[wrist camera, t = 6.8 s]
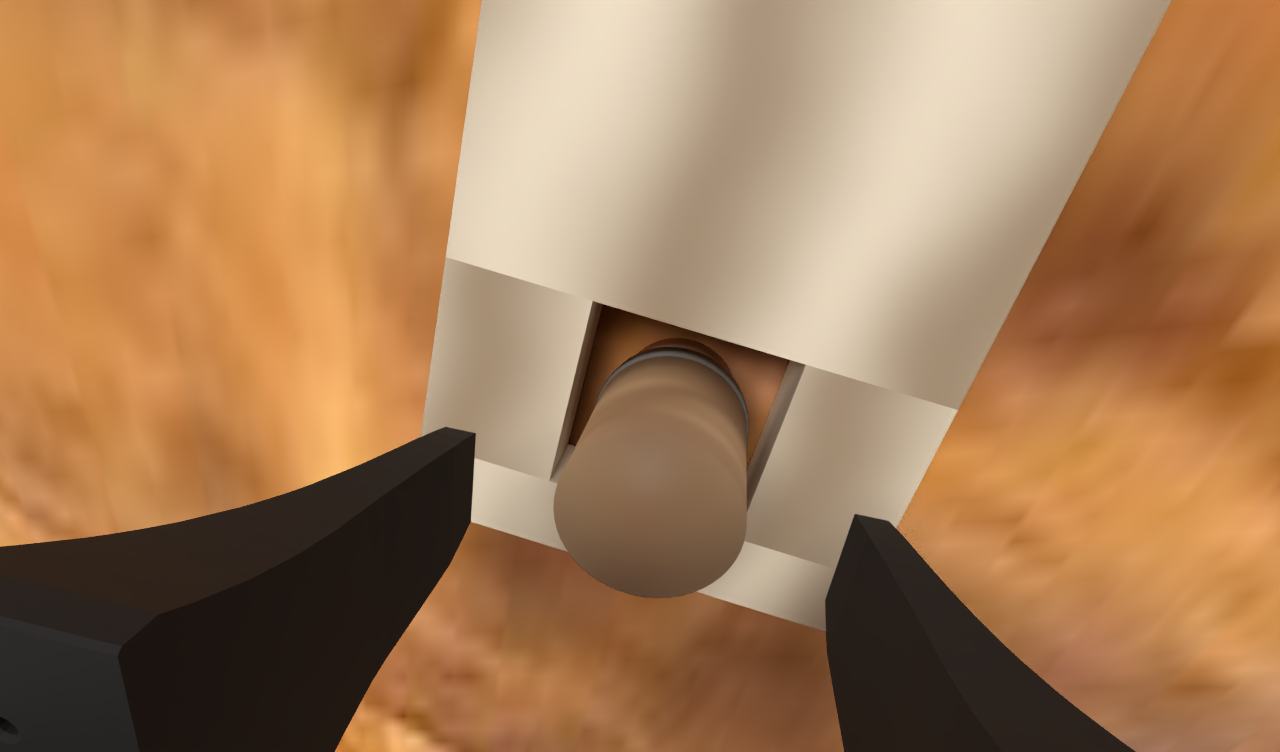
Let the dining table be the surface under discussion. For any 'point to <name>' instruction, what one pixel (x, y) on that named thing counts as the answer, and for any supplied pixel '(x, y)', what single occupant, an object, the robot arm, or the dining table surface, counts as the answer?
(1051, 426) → the dining table surface
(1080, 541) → the dining table surface
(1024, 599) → the dining table surface
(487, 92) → the board
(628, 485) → the peg
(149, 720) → the robot arm
